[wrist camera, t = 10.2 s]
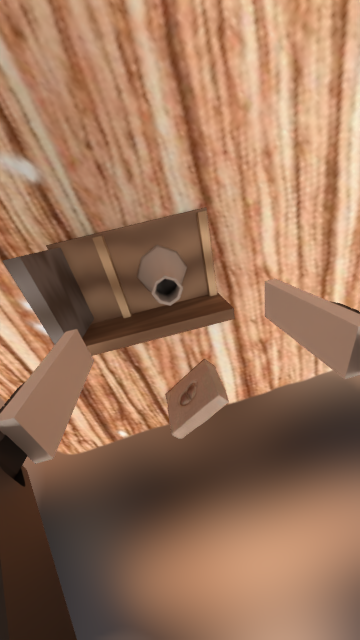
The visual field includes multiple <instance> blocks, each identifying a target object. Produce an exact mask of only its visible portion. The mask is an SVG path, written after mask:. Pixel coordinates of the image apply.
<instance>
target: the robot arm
mask: <svg viewBox="0 0 360 640" xmlns="http://www.w3.org/2000/svg"><path fill="white" fill-rule="evenodd" d="M265 317H266V318H268V319H269V320H270V321H271V322H273V323H274V324H275V325H276V326H278V327H279V328H280V329H282V330H283V331H284V332H285V333H287V334H288V335H289V336H290V337H292V338H293V339H294V340H296V341H297V342H298V343H299V344H301V345H302V346H303V347H304V348H306V349H307V350H308V351H310V352H311V353H312V354H313V355H315V356H316V357H317V358H318V359H320V360H321V361H322V362H324V363H325V364H326V365H327V366H329V367H330V368H331V369H332V370H334V371H335V372H336V373H338V374H339V375H340V376H341V377H343V378H344V379H347V378H350V377H354V376H358V375H360V312H359V311H358V310H355V309H353V308H352V309H351V308H350V307H348V306H345V305H343V304H340V303H335V302H330V301H327V300H325V299H322V298H320V297H318V296H315V295H313V294H311V293H308V292H306V291H303V290H301V289H299V288H296V287H294V286H291V285H289V284H287V283H284V282H282V281H280V280H277V279H272V280H268V281H265ZM93 362H94V360H93V358H92V356H91V354H90V352H89V350H88V349H87V347H86V345H85V343H84V341H83V339H82V337H81V336H80V334H79V332H78V330H77V329H75V330H71V331H67V332H65V333H64V334H63V336H62V337H61V338H60V339H59V341H58V342H57V343H56V344H55V346H54V347H53V348H52V349H51V351H50V352H49V353H48V354H47V356H46V357H45V358H44V359H43V361H42V362H41V363H40V364H39V366H38V367H37V368H36V369H35V371H34V372H33V373H32V375H31V376H30V377H29V378H28V380H27V381H26V382H25V383H23V384H22V385H21V386H20V387H19V388H17V390H16V391H15V392H14V393H13V395H12V396H11V397H10V399H8V401H7V402H6V403H5V404H4V405H5V406H3V407H2V408H1V409H0V640H77V639H76V635H75V632H74V628H73V625H72V621H71V618H70V615H69V611H68V608H67V604H66V601H65V598H64V594H63V591H62V588H61V584H60V581H59V577H58V574H57V571H56V567H55V564H54V560H53V557H52V554H51V550H50V547H49V544H48V540H47V537H46V533H45V530H44V527H43V523H42V520H41V516H40V513H39V510H38V506H37V503H36V499H35V496H34V493H33V489H32V486H31V483H30V479H29V476H28V472H27V470H26V469H25V468H24V467H23V466H22V465H23V463H24V461H25V459H26V457H27V456H28V457H29V458H30V459H31V460H32V461H33V462H34V463H35V464H36V463H39V462H43V461H46V460H50V459H53V458H54V455H55V453H56V451H57V448H58V446H59V444H60V441H61V439H62V436H63V434H64V432H65V429H66V427H67V424H68V422H69V419H70V417H71V415H72V412H73V410H74V407H75V405H76V403H77V400H78V398H79V395H80V393H81V391H82V388H83V386H84V383H85V381H86V379H87V376H88V374H89V371H90V369H91V367H92V364H93Z"/></svg>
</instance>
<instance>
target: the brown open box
mask: <svg viewBox="0 0 360 640" xmlns="http://www.w3.org/2000/svg"><path fill="white" fill-rule="evenodd" d="M156 245H159V246H162V247H166V248H169V249H172V250H175V251H177V253H178V254H179V256H180V257H181V259H182V260H183V262H184V263H185V265H186V266H187V269H186V272H185V276H184V279H183V282H182V287H183V290H182V294H181V297H180V299H179V300H178V301H176V302H175V303H174V304H172V305H171V306H169V305H165V304H161V303H159V302H158V301H157V300H156V299H155V298H154V297H153V295H152V294H151V293H152V292H150V291H149V290H148V289H147V288H146V287H145V286H144V284H143V283H142V282H141V281H140V280H139V279H138V277H137V274H138V269H139V265H140V260H141V257H142V256H143V255H145V254H146V253H147V252H148V251H150V250H151V249H152V248H153V247H155V246H156ZM46 246H47V248H48V250H47V251H42V252H38V253H34V254H29V255H25V256H21V257H16V258H12V259H8V260H4V261H3V263H4V264H5V266H6V268H7V269H8V271H9V272H10V274H11V276H12V277H13V279H14V280H15V282H16V284H17V285H18V287H19V288H20V290H21V292H22V293H23V295H24V296H25V298H26V299H27V301H28V303H29V304H30V306H31V307H32V309H33V311H34V312H35V314H36V315H37V317H38V319H39V320H40V322H41V323H42V325H43V327H44V328H45V330H46V331H47V333H48V335H49V336H50V338H51V339H52V341H53V343H54V344H56V343H57V342H58V341H59V339H60V338H61V337H62V336H63V334H64V333H65V332H67V331H71V330H75V329H77V330H78V332H79V334H80V336H81V337H82V339H83V341H84V343H85V345H86V347H87V349H88V350H89V352H90V354H91V356H93V355H97V354H101V353H104V352H108V351H112V350H116V349H120V348H124V347H128V346H131V345H135V344H139V343H143V342H147V341H151V340H155V339H158V338H162V337H166V336H170V335H174V334H178V333H182V332H185V331H189V330H193V329H197V328H201V327H205V326H209V325H213V324H216V323H220V322H224V321H228V320H232V319H235V317H234V308H233V307H232V306H231V305H230V304H229V303H228V302H227V301H226V300H225V299H224V298H223V297H222V296H221V295H220V294H218V293H217V287H216V279H215V271H214V263H213V255H212V248H211V240H210V232H209V224H208V216H207V208H206V207H205V208H201V209H197V210H193V211H189V212H185V213H180V214H176V215H172V216H168V217H164V218H159V219H155V220H151V221H147V222H143V223H138V224H134V225H130V226H126V227H122V228H118V229H113V230H109V231H105V232H101V233H97V234H92V235H88V236H84V237H80V238H76V239H72V240H67V241H63V242H59V243H55V244H51V245H46Z"/></svg>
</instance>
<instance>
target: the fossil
mask: <svg viewBox="0 0 360 640" xmlns="http://www.w3.org/2000/svg"><path fill="white" fill-rule="evenodd" d="M166 399H167V403H168V414H169V422H170V427H171V433H172V435H173V436H175V437H177V438H179V439H181V438H183V437H185V435H187V434H188V433H190V432H191V431H192V430H194V429H195V428H196V427H198V426H199V425H201V424H202V423H204V422H205V421H206V420H208V419H209V418H210V417H211V416H212V415H213V414H215V413H216V412H217V411H218V410H220V409H221V408H222V407H223V406H225V405H226V404H227V403H228V402H229V401H228V398H227V394H226V391H225V388H224V386H223V384H222V382H221V380H220V377H219V375H218V373H217V371H216V368H215V366H214V365H212V364H211V363H209V362H208V361H207V360H205V359H204V360H203V361H202V362H201V363H199V364H198V365H197V366H196V367H195V368H194V369H193V370H192V371H190V372H189V373H188V374H187V375H186V376H185V377H184V378H183V379H182V380H181V381H180V382H179V383H177V384H176V385H175V386H174V387H173V388H172V390H170V391H169V392H168V393H167V394H166Z"/></svg>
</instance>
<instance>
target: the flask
mask: <svg viewBox="0 0 360 640" xmlns="http://www.w3.org/2000/svg"><path fill="white" fill-rule="evenodd" d="M186 269H187V266H186V265H185V263H184V262H183V260H182V259H181V257H180V256H179V254H178V253H177V251H175V250H172V249H169V248H166V247H162V246H159V245H156V246H155V247H153V248H152V249H151V250H150V251H148V252H147V253H146V254H145V255H143V256H142V257H141V260H140V265H139V269H138V274H137V277H138V279H139V280H140V281H141V282H142V283H143V284H144V286H145V287H146V288H147V289H148V290H149V291H150V292H152V293H151V294H152V295H153V297H154V298H155V299H156V300H157V301H158V302H159V303H161V304H165V305H169V306H171V305H172V304H174V303H175V302H176V301H178V300H179V299H180V297H181V294H182V290H183V287H182V282H183V279H184V276H185V272H186Z"/></svg>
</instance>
